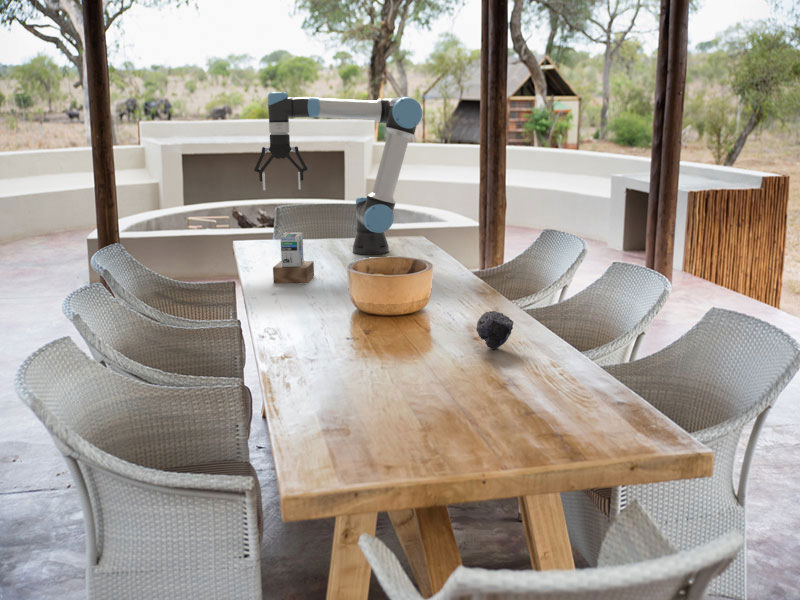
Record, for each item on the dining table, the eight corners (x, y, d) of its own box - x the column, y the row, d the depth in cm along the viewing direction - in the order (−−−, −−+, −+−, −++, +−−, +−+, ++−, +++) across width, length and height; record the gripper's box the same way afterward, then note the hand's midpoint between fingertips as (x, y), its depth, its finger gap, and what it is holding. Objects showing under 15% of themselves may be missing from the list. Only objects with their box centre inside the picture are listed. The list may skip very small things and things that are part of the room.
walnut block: (314, 277, 304) (313, 261, 303) (307, 284, 292) (306, 267, 291) (282, 276, 305) (281, 260, 304) (273, 284, 294) (272, 267, 292)
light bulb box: (300, 267, 292) (299, 236, 290) (281, 267, 292) (279, 237, 290) (304, 261, 303) (302, 231, 300) (285, 261, 303) (284, 232, 300)
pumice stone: (483, 355, 210) (483, 317, 207) (470, 347, 217) (471, 310, 214) (520, 351, 213) (521, 313, 211) (506, 343, 220) (507, 306, 218)
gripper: (245, 134, 313) (248, 191, 318) (312, 133, 315) (314, 189, 320) (247, 133, 320) (250, 189, 325) (312, 132, 322) (314, 187, 327)
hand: (282, 189), depth 322 cm, fingers open, 13 cm apart
